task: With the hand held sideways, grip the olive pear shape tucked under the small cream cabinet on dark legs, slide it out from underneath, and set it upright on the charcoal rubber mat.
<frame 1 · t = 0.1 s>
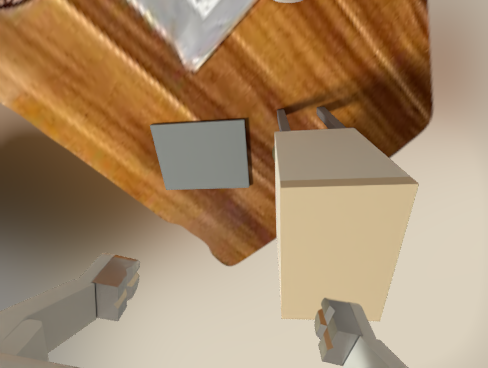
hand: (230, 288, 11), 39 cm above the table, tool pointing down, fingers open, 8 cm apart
cabinet: (299, 150, 48), on the table
mat: (202, 156, 50), on the table
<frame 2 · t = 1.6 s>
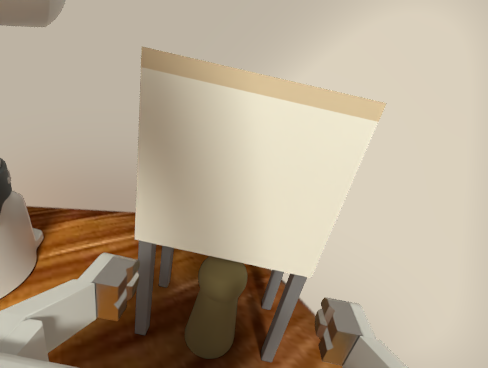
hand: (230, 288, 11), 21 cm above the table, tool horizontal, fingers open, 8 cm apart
cabinet: (210, 316, 32), on the table
olive pear shape: (209, 333, 30), on the table
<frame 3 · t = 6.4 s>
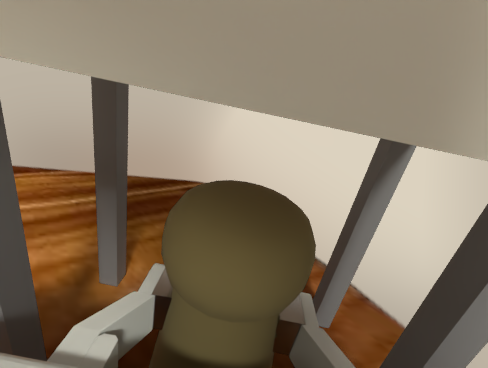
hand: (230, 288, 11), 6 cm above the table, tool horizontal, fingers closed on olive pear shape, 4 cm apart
cabinet: (206, 347, 14), on the table
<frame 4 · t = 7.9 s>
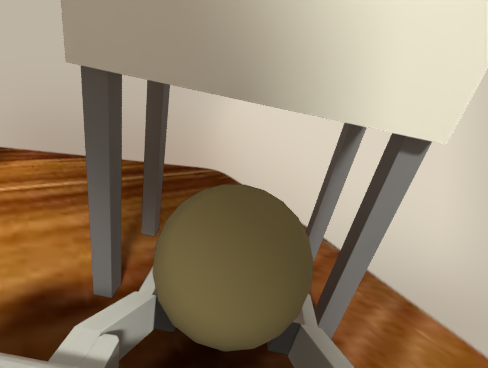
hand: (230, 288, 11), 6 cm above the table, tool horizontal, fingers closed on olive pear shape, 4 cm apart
cabinet: (221, 273, 20), on the table
olive pear shape: (222, 294, 17), point 2 cm above the table, touching gripper
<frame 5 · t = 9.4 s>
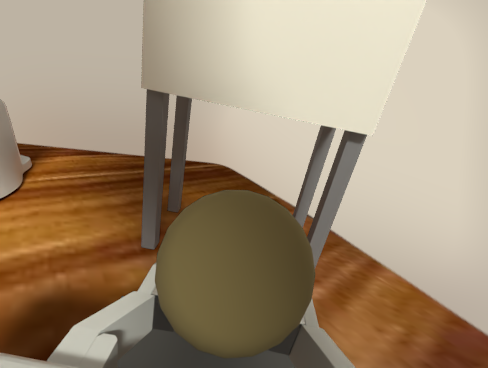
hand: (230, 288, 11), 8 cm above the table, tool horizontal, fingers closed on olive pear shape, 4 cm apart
cabinet: (231, 237, 27), on the table
olive pear shape: (224, 278, 17), point 3 cm above the table, touching gripper
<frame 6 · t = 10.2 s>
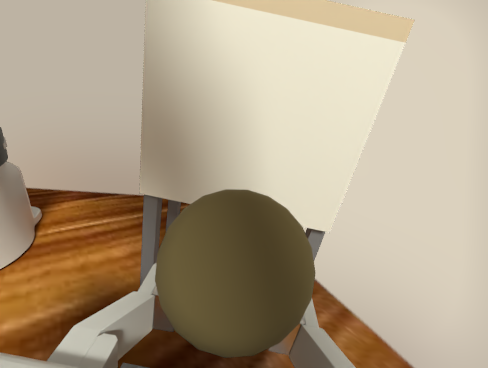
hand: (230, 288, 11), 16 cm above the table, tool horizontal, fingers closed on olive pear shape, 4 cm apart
cabinet: (218, 290, 30), on the table
olive pear shape: (223, 278, 17), point 11 cm above the table, touching gripper
when the fingers open (8 cm above the table, at t = 12.7 s): olive pear shape drops 3 cm, resting on mat.
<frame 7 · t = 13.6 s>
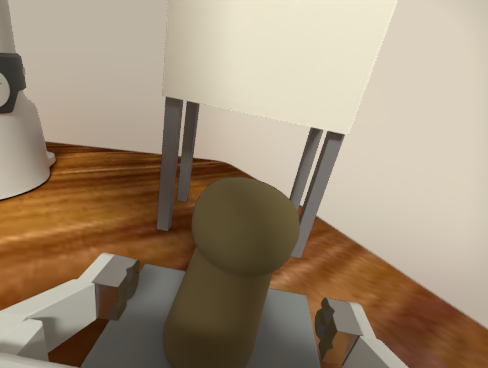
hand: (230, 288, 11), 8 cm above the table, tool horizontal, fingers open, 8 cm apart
cabinet: (232, 223, 31), on the table
olive pear shape: (209, 333, 17), point 1 cm above the table, touching mat
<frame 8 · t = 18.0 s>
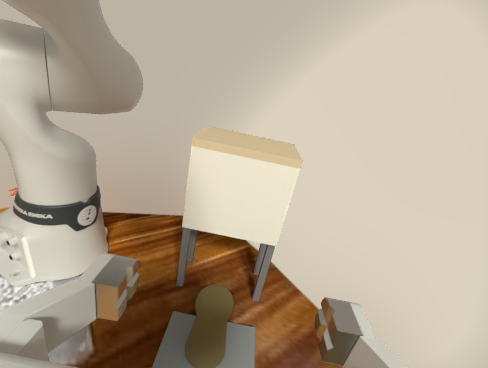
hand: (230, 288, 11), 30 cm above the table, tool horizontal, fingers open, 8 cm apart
cabinet: (220, 278, 51), on the table
olive pear shape: (205, 349, 37), point 1 cm above the table, touching mat
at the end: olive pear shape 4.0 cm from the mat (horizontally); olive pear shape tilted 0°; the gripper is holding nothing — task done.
